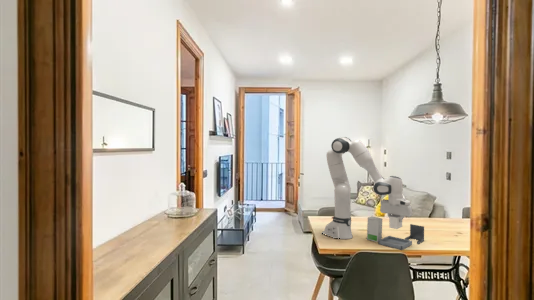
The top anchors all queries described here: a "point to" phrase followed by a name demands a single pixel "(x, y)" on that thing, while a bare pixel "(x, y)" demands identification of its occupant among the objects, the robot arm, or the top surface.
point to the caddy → (395, 221)
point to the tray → (395, 242)
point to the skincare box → (374, 229)
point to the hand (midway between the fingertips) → (395, 221)
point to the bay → (416, 233)
